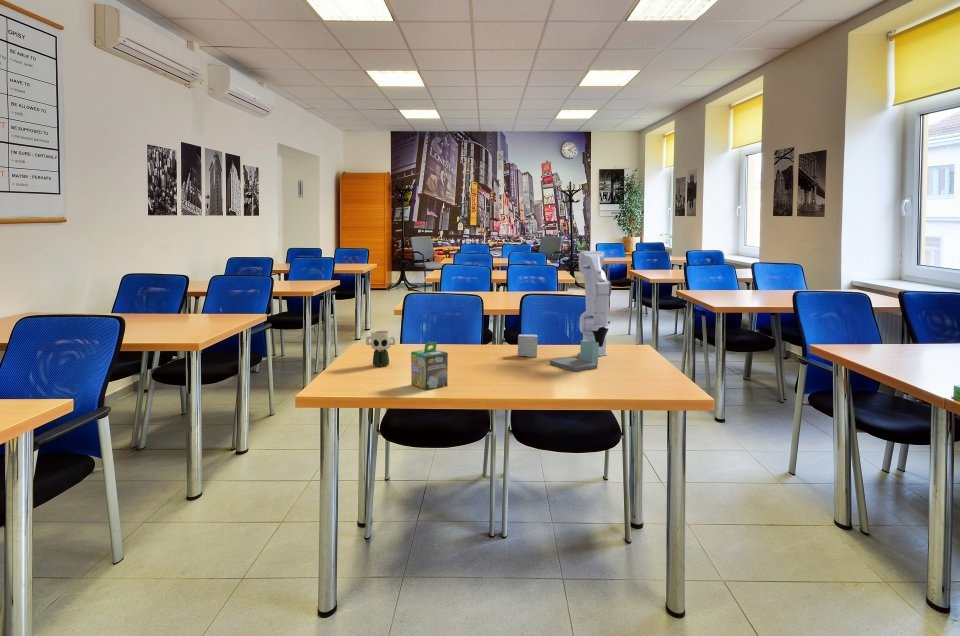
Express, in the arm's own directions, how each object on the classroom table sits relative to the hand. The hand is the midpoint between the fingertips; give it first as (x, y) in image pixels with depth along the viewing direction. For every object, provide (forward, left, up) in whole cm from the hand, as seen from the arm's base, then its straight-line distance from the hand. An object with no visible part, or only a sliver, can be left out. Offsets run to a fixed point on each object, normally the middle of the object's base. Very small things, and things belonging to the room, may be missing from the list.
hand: (599, 346), depth 252 cm
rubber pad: (+13, 0, -6) cm, 15 cm away
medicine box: (+17, -24, -7) cm, 30 cm away
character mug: (+77, -36, -7) cm, 86 cm away
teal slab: (+5, 0, -7) cm, 8 cm away
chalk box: (+75, -1, -7) cm, 76 cm away
